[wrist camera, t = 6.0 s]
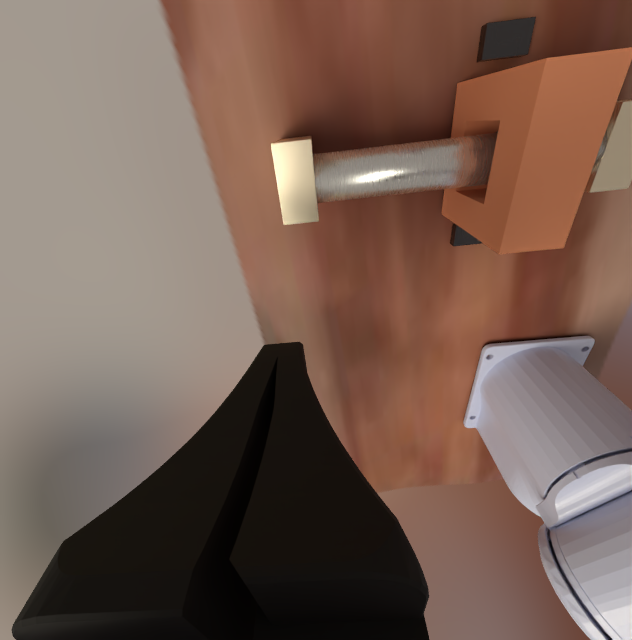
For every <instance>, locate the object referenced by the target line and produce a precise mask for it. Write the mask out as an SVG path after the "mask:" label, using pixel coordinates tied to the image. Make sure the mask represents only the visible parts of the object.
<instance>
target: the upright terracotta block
mask: <svg viewBox="0 0 632 640" xmlns="http://www.w3.org/2000/svg"><path fill="white" fill-rule="evenodd" d="M631 60H632V47H630V48H622V49H614V50H606V51H599V52H591V53H583V54H575V55H567V56H559V57H551V58H545V59H542V60H538V61H534V62H531V63H527V64H524V65H520V66H517V67H513V68H510V69H506V70H502V71H499V72H495V73H492V74H488V75H485V76H481V77H477V78H474V79H470V80H467V81H463V82H460V83H457V92H456V100H455V108H454V116H453V124H452V132H451V138H456V137H464V136H473V135H482V134H490V133H495V132H497V131H498V135H497V140H496V145H495V150H494V155H493V160H492V166H491V171H490V176H489V181H488V185H478V186H469V187H460V188H450V189H444V197H443V205H442V213H441V214H442V215H443V216H445V217H446V218H448V219H449V220H451V221H452V222H453V223H455V224H456V225H458V226H459V227H461V228H462V229H463V230H465V231H466V232H468V233H469V234H471V235H472V236H473V237H475V238H476V239H478V240H479V241H481V242H482V243H483V244H485V245H486V246H488V247H489V248H491V249H492V250H493V251H495V252H496V253H498V254H508V253H518V252H528V251H539V250H549V249H559V248H564V246H565V243H566V240H567V237H568V235H569V232H570V229H571V226H572V223H573V221H574V218H575V215H576V212H577V210H578V207H579V204H580V201H581V199H582V196H583V193H584V190H585V187H586V185H587V182H588V179H589V176H590V174H591V171H592V168H593V165H594V163H595V160H596V157H597V154H598V151H599V149H600V146H601V143H602V140H603V138H604V135H605V132H606V129H607V127H608V124H609V121H610V118H611V116H612V113H613V110H614V107H615V104H616V102H617V99H618V96H619V93H620V91H621V88H622V85H623V82H624V80H625V77H626V74H627V71H628V68H629V66H630V63H631Z"/></svg>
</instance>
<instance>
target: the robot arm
mask: <svg viewBox="0 0 632 640" xmlns="http://www.w3.org/2000/svg"><path fill="white" fill-rule="evenodd" d="M594 343H595V340H594V339H593V338H592V337H590V336H578V337H566V338H554V339H543V340H531V341H519V342H507V343H495V344H488V345H486V346H484V347H483V349H482V352H481V356H480V360H479V364H478V367H477V371H476V375H475V379H474V383H473V387H472V391H471V395H470V399H469V402H468V406H467V410H466V414H465V418H464V422H463V423H464V425H465V427H467V428H477V430H478V432H479V433H480V435H481V437H482V439H483V441H484V443H485V444H486V446H487V448H488V450H489V452H490V454H491V456H492V457H493V459H494V461H495V463H496V465H497V467H498V469H499V470H500V472H501V474H502V476H503V478H504V480H505V482H506V483H507V485H508V487H509V488H510V490H511V492H512V493H513V494H514V495H515V496H516V498H517V499H518V500H519V501H520V502H521V503H522V504H523V505H525V506H526V507H527V508H528V509H529V510H531V511H532V512H534V513H535V514H537V515H538V516H540V517H541V518H542V519H543V521H544V523H545V524H544V525H542V526H541V527H540V529H539V531H538V544H539V548H540V555H541V559H542V563H543V566H544V569H545V571H546V573H547V576H548V578H549V580H550V582H551V584H552V586H553V588H554V590H555V591H556V593H557V595H558V597H559V598H560V600H561V602H562V603H563V605H564V606H565V608H566V609H567V611H568V612H569V614H570V615H571V616H572V618H573V619H574V620H575V621H576V623H577V624H578V625H579V627H580V628H581V629H582V630H583V631H584V633H585V634H586V635H587V636H588V637H589V638H590V639H591V640H632V410H631V409H630V408H628V407H627V406H626V405H625V404H624V403H623V402H622V401H621V400H620V399H618V398H617V397H616V396H615V395H614V394H613V393H612V392H610V391H609V390H608V389H607V388H606V387H605V386H604V385H603V384H602V383H601V382H599V381H598V380H597V379H596V378H595V377H594V376H593V375H592V374H591V373H589V372H588V371H587V370H586V369H585V368H584V367H583V365H584V363H585V361H586V359H587V357H588V355H589V353H590V351H591V349H592V347H593V345H594ZM488 355H489V356H488ZM428 598H429V592H428V586H427V583H426V580H425V577H424V574H423V571H422V569H421V566H420V564H419V562H418V559H417V557H416V555H415V553H414V551H413V549H412V547H411V545H410V543H409V541H408V539H407V537H406V535H405V533H404V531H403V529H402V528H401V526H400V524H399V522H398V520H397V518H396V517H395V515H394V514H393V513H392V512H391V511H390V509H389V508H388V507H387V506H386V504H385V503H384V502H383V501H382V499H381V498H380V497H379V496H378V494H377V493H376V492H375V490H374V489H373V488H372V487H371V485H370V484H369V482H368V481H367V480H366V478H365V477H364V476H363V474H362V473H361V472H360V470H359V469H358V467H357V466H356V464H355V463H354V461H353V460H352V458H351V457H350V455H349V454H348V452H347V451H346V449H345V448H344V446H343V445H342V443H341V442H340V440H339V438H338V437H337V435H336V433H335V432H334V430H333V428H332V426H331V425H330V423H329V421H328V419H327V417H326V415H325V413H324V411H323V409H322V407H321V405H320V403H319V401H318V399H317V397H316V394H315V392H314V390H313V387H312V385H311V382H310V379H309V376H308V374H307V368H306V361H305V355H304V349H303V344H302V343H300V342H292V343H280V344H269V345H264V346H263V347H262V349H261V350H260V352H259V353H258V355H257V357H256V358H255V359H254V361H253V362H252V364H251V365H250V367H249V368H248V370H247V371H246V373H245V374H244V376H243V377H242V379H241V380H240V381H239V383H238V384H237V385H236V387H235V388H234V389H233V391H232V392H231V393H230V394H229V396H228V397H227V398H226V399H225V401H224V402H223V403H222V404H221V406H220V407H219V408H218V409H217V411H216V412H215V413H214V414H213V415H212V416H211V417H210V419H209V420H208V421H207V422H206V423H205V424H204V425H203V426H202V427H201V429H199V431H198V432H197V433H196V434H195V435H194V436H193V437H192V438H191V439H190V440H189V441H188V442H187V443H186V444H185V445H184V446H183V447H182V448H181V449H179V450H178V451H177V452H176V453H175V454H174V455H173V456H172V457H171V458H170V459H169V460H168V461H166V462H165V463H164V464H163V465H162V466H161V467H160V468H159V469H157V470H156V471H155V472H154V473H153V474H152V475H150V476H149V477H148V478H147V479H146V480H144V481H143V482H142V483H141V484H140V485H138V486H137V487H136V488H135V489H133V490H132V491H131V492H130V493H128V494H127V495H126V496H125V497H123V498H122V499H121V500H119V501H118V502H117V503H116V504H114V505H113V506H112V507H110V508H109V509H107V510H106V511H105V512H103V513H102V514H101V515H99V516H98V517H96V518H95V519H94V520H92V521H91V522H90V523H88V524H87V525H86V526H84V527H83V528H81V529H80V530H79V531H77V532H76V533H75V534H73V535H72V536H70V537H69V538H68V539H66V540H65V541H64V542H63V543H62V544H61V546H60V547H59V549H58V551H57V552H56V554H55V555H54V557H53V559H52V560H51V562H50V564H49V565H48V567H47V569H46V570H45V572H44V574H43V575H42V577H41V579H40V581H39V582H38V584H37V585H36V587H35V589H34V590H33V592H32V594H31V595H30V597H29V599H28V600H27V602H26V604H25V606H24V607H23V609H22V611H21V612H20V614H19V616H18V617H17V619H16V621H15V622H14V624H13V627H12V634H13V637H14V638H15V639H16V640H429V635H428V631H427V627H426V622H425V618H424V611H425V608H426V604H427V601H428Z"/></svg>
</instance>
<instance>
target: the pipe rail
mask: <svg viewBox="0 0 632 640" xmlns="http://www.w3.org/2000/svg"><path fill="white" fill-rule="evenodd" d="M535 19H536V17H531V18H524V19H516V20H509V21H501V22H494V23H487V24H485V25H484V26H482V29H481V36H480V43H479V50H478V57H477V62H481V61H489V60H497V59H505V58H513V57H521V56H524V55H527V54H528V51H529V47H530V42H531V37H532V33H533V28H534V23H535ZM497 135H498V131H497V132H495V133H490V134H482V135H473V136H464V137H456V138H447V139H439V140H430V141H422V142H413V143H404V144H396V145H387V146H379V147H370V148H361V149H353V150H344V151H336V152H327V153H319V154H313V149H312V138H311V136H304V137H296V138H287V139H280V140H278V141H276V142H274V143H272V144H271V148H272V154H273V161H274V167H275V173H276V180H277V186H278V192H279V199H280V205H281V211H282V217H283V224H284V225H288V224H298V223H307V222H316V221H319V218H318V203H322V202H331V201H340V200H349V199H358V198H368V197H377V196H386V195H395V194H404V193H414V192H423V191H432V190H441V189H450V188H460V187H469V186H478V185H488V181H489V176H490V171H491V166H492V160H493V155H494V150H495V145H496V140H497ZM631 180H632V99H631V100H618V101H617V102H616V104H615V107H614V110H613V113H612V116H611V118H610V121H609V124H608V127H607V129H606V132H605V135H604V138H603V140H602V143H601V146H600V149H599V151H598V154H597V157H596V160H595V163H594V165H593V168H592V171H591V174H590V176H589V179H588V182H587V185H586V187H585V190H584V191H585V192H589V193H590V192H600V191H609V190H619V189H628V187H629V185H630V183H631ZM480 243H482V242H481V241H479V240H478V239H476V238H475V237H473V236H472V235H471V234H469V233H468V232H466V231H465V230H463V229H462V228H461V227H459V226H458V225H456V224H453V227H452V234H451V241H450V244H451V245H453V246H460V245H470V244H480Z"/></svg>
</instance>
